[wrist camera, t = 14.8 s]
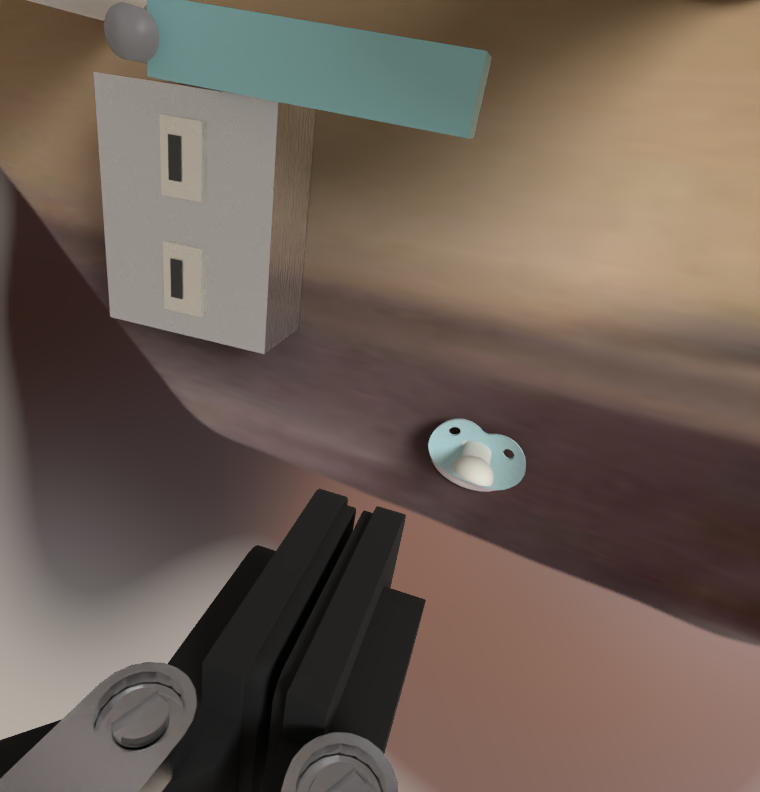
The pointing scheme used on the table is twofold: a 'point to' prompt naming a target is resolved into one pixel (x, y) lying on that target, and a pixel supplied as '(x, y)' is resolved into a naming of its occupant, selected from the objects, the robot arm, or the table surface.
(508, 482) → the pacifier
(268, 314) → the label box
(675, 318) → the table surface
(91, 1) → the cylindrical container
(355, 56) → the swing bar
